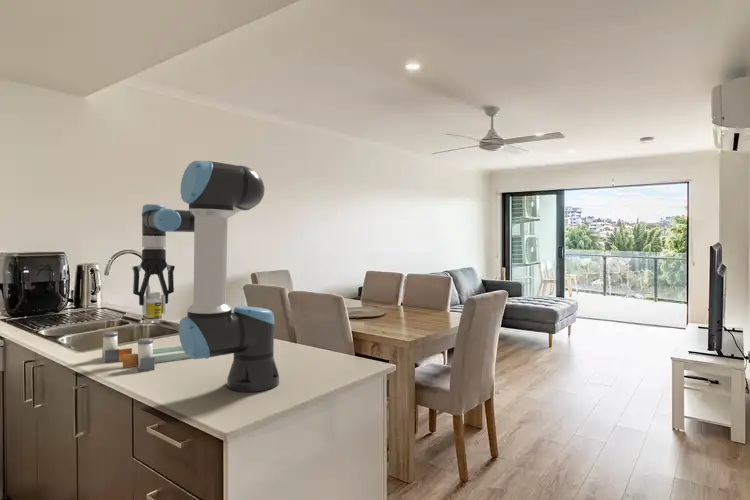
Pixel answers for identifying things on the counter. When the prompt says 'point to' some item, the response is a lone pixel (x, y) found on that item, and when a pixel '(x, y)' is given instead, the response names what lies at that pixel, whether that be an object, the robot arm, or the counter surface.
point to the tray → (169, 354)
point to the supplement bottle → (153, 307)
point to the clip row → (129, 358)
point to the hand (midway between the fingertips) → (153, 313)
